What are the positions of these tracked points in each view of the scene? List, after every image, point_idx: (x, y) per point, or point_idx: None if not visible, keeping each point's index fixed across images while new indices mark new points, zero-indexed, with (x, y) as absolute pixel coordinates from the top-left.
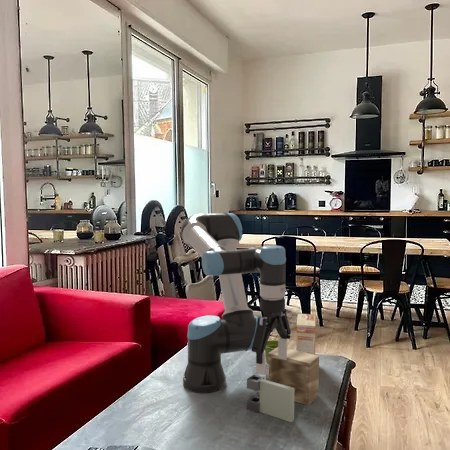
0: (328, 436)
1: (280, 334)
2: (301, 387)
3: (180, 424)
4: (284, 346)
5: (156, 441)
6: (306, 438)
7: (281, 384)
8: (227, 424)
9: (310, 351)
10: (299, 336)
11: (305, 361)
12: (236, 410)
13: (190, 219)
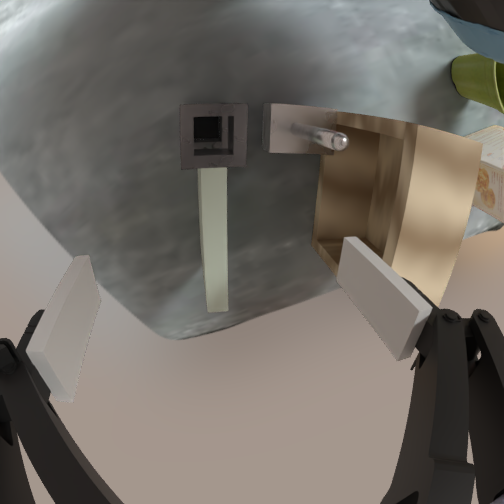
0: (201, 335)
1: (430, 352)
2: (375, 204)
3: (14, 34)
4: (376, 320)
5: None
6: (161, 309)
7: (226, 262)
8: (75, 118)
9: (496, 208)
10: None
11: None
12: (159, 83)
13: None
